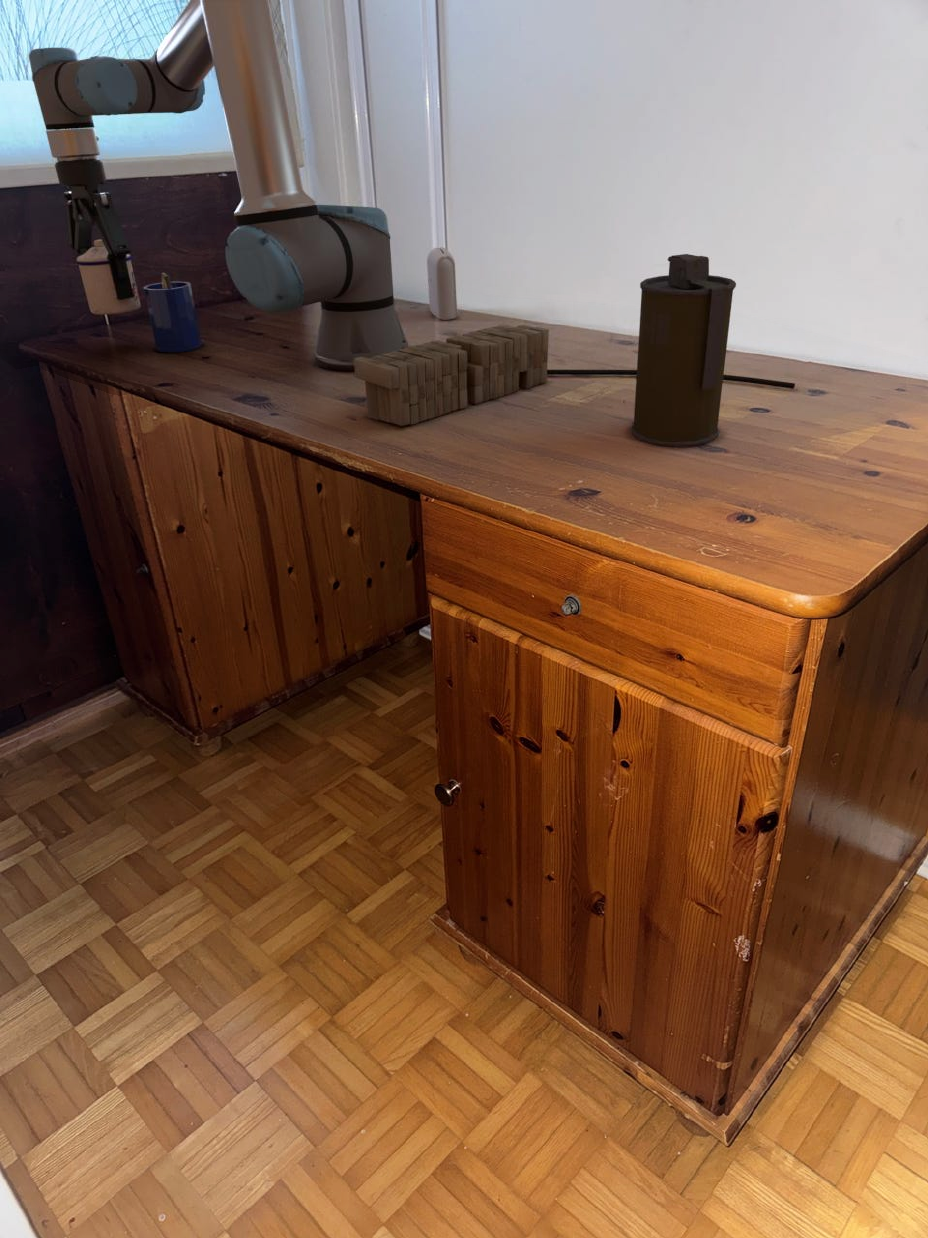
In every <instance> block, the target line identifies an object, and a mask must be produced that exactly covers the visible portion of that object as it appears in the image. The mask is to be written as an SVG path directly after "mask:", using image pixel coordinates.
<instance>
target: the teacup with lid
mask: <svg viewBox="0 0 928 1238" xmlns="http://www.w3.org/2000/svg"><path fill="white" fill-rule="evenodd" d="M93 245H94V246H92V248H90V249H89V250H88V251H87V252H86V253H85V254H83V255H81V256H79V257H78V256H77V258H76V265H78V267H79V271H80V276H81V280H82V284H83V288H84V291H85V296H86V300H87V303H88V307H89V311H90V313H91V314H94V315H97V316H98V315H100V316H101V315H102V316H103V315H104V316H105V315H108V316H109V315H118V314H126V313H130V312H134V311H137V310H139V309H140V308H141V300H140V296H139V291H138V287H137V283H136V278H135V274H134V269H133V265H132V256H131V253H130V254H127V256H126V257H125V259H126V264H127V268H128V273H129V277H130V281H131V286H132V290H133V295H134V298H128V299H122V300H118V299H117V295H116V291H115V286H114V282H113V278H112V274H111V269H110V265H109V261H108V260H107V255H108V254H109V253H108V251H107V250H106V248H105V246H104V244H103V242H102V240H101V239H95V240H94V241H93Z"/></svg>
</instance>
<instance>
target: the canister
mask: <svg viewBox="0 0 928 1238" xmlns="http://www.w3.org/2000/svg"><path fill="white" fill-rule="evenodd" d="M667 261H668V263H669V265H668V274H667V275H659V276H653V277H648V278H645V279H644V280H642V281H640V284H639V288H640V290H641V292H640V293H641V295H640V296H641V297H640V312H639V313H640V314H639V329H638V347H637V362H636V370H637V375H636V379H635V394H634V413H633V414H634V415H633V425H631V426H632V427H631V429H630V432H631V434H632V436H633V437H634V438H636V439H637V440H639V441H642V442H644V443H646V444H647V443H648V444H651V445H654V446H659V447H669V448H679V447H680V448H684V447H696V446H702V445H705V444H709V443H711V442H713V441H715V440H716V439H717V438H718V437H719V435H720V430H719V428H718V427H719V418H720V409H721V400H722V391H723V382H724V380H723V375H725V374H724V373H725V366H726V356H727V347H728V338H729V329H730V321H731V320H730V319H731V312H732V311H731V310H732V303H733V294H734V290H735V289H736V288H737V283H736V281H735V280H733V279H732V278H728V277H724V276H720V275H710V258H709V257H708V256H705V255H695V254H689V253H682V254H674V255H671V256H670V255H669V256H668V258H667Z"/></svg>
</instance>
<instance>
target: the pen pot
mask: <svg viewBox="0 0 928 1238" xmlns="http://www.w3.org/2000/svg"><path fill="white" fill-rule="evenodd" d="M170 282H171V285H172V288H171V289H163V286H162V282H158V283H152V284H147V285H145V286H143V292H144V296H145V297H144V298H145V302H146V306H147V311H148V316H149V321H150V324H151V325H150V326H151V330H152V334H153V340H154V345H155V348H156V351H157V352H160V353H164V354H165V353H168V354H170V353H171V354H172V353H175V354H176V353H184V352H190V351H194V350H198V349H199V348H201V347H202V338H201V332H200V326H199V322H198V316H197V311H196V306H195V299H194V295H193V290H192V284H191V282H188V281H170Z"/></svg>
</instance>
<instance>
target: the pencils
mask: <svg viewBox="0 0 928 1238" xmlns="http://www.w3.org/2000/svg"><path fill="white" fill-rule="evenodd" d="M171 282H172V281H171V279H170V277H169V275H167V273H165V272H162V273H161V283H162V286H163V289H171V288H172V285H171Z"/></svg>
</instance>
